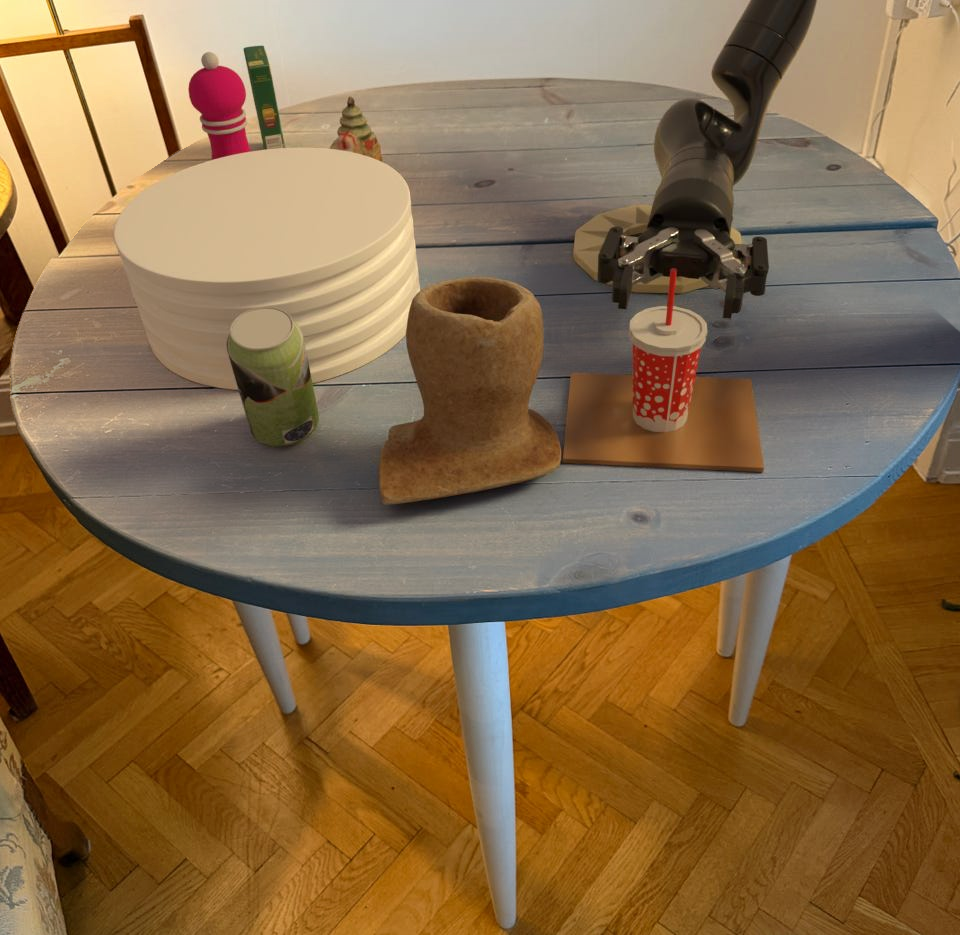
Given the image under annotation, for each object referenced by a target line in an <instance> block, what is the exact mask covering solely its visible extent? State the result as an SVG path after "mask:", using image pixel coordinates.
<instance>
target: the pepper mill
mask: <svg viewBox="0 0 960 935" xmlns="http://www.w3.org/2000/svg"><path fill="white" fill-rule="evenodd" d="M219 60H220V59H219V58H218V56H217V54H215V53H214V52H212V51H207V52H204V53H203V54H202V56H201V59H200V61H201V66H202V68H200V69H199V70H197V71H196V72H195V73H193V75H192V76H191V77H190V80H189V83H188V98H189V100H190V103H191V105H192V107H193V108H194V109H195V110H196V111H197V112H198V113H200V114H201V115H200V116H199V122H200V123H201V130H202V131H203V132H204V133H206V134H207V136H208V140H209V144H210V150H211V160H214V159H218V158H222V157H226V156H230V155H235V154H240V153H246V152H252V151H253V150H251V147H250V144H249V141H248V138H247V137H248V136H247V132H246V127H247V125H248V122H249V121H248V119H247V117H246V115H247V112H246V111H245V109H243V106H244V104H245V102H246V100H247V99H246V97H247V91H246V87H245V84H244V81H243V79H242V78H241V76H240V75H239V73H237V72H236V71H235V70H234V69H231V68H230V67H228V66H223V65H219V63H220V61H219Z"/></svg>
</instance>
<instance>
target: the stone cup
mask: <svg viewBox="0 0 960 935" xmlns="http://www.w3.org/2000/svg"><path fill="white" fill-rule="evenodd" d="M542 312H543V311H542V308H541V303H540V302H539V301H538V299H537V298H536V297H535V295H534V293H532V292H531V291H530V290H528V288H526V287H524V286H522V285H520V284H519V283H516V282H513V281H510V280H506V279H500V278H496V277H487V276H465V277H458V278H452V279H446V280H443V281H440V282H436V283H432V284H430V285H428V286H426V287H424V288H422V289H420V292H418V293H417V294H416V296H415V297H414V298H413V300H412V302H411V306H410V309H409V314H408V321H407V328H406V335H405V342H406V343H405V344H406V349H407V355H408V358H409V362H410V365H411V368H412V371H413V375H414V378H415V381H416V385H417V387H418V390H419V394H420V396H421V400H422V404H423V416H422V417H421V419H418V420H414V421H411V422H405V423H400V424H396V425H393V426H391V427H390V428H389V429H388V435H387V440H386V441H385V442H384V443H383V446H382V448H380V452H379V463H378V465H379V466H378V490H379V493H380V496H381V502H382V504H383V505H398V504H405V503H407V504H408V503H415V502H420V501H428V500H434V499H439V498H448V497H453V496H458V495H463V494H465V495H466V494H471V493H476V492H481V491H486V490H492V489H497V488H502V487H505V486H509V485H514V484H518V483H523V482H527V481H531V480H535V479H538V478H541V477H545V476H546V475H549V474H551V473H553V472H554V471H556V470H557V469H558V468H559V466H560V465H561V461H562V448H561V444H560V443H561V442H560V440H559V436H558V434H557V432H556V430H555V429H554V427H553V425H552V424H551V423H550V422H549V420H547V419H546V418H545V417H544V416H543V415H541V414H540V413H539V412H537V411H535V410H534V409H531V408H529V404H530V399H531V395H532V392H533V389H534V387H535V384H536V382H537V379H538V376H539V373H540V369H541V366H542V361H543V360H542V359H543V355H544V321H543V320H544V319H543V313H542Z"/></svg>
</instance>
